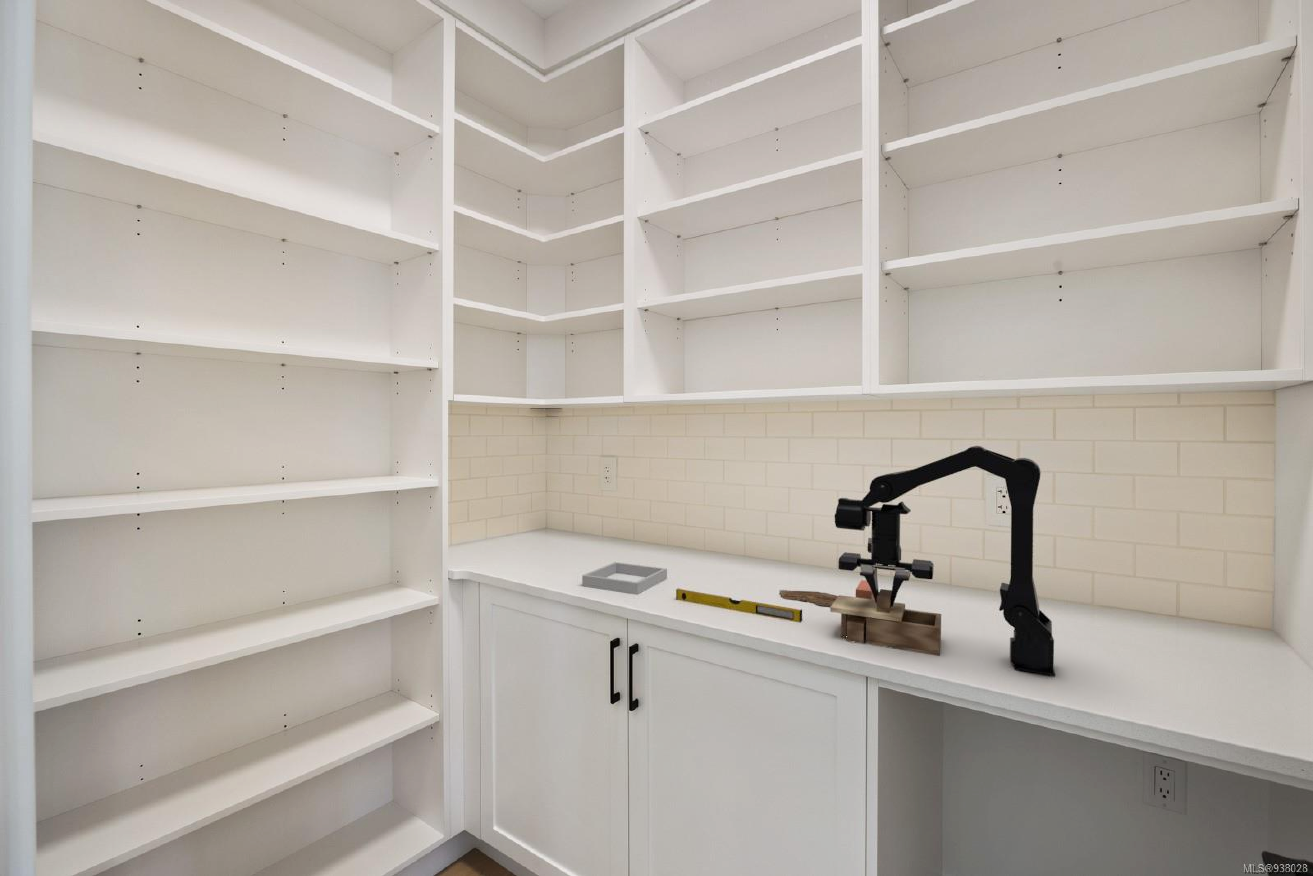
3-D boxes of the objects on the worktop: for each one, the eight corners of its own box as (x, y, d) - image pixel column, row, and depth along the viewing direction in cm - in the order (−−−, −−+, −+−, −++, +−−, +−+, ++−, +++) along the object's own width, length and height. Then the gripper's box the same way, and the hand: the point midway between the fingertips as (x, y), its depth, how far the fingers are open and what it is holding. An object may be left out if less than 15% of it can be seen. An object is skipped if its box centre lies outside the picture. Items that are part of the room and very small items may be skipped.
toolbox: (942, 624, 137) (942, 600, 137) (939, 656, 118) (939, 628, 118) (855, 611, 146) (855, 589, 145) (839, 639, 127) (840, 614, 127)
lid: (905, 608, 130) (905, 590, 130) (901, 621, 121) (901, 602, 121) (838, 599, 137) (838, 582, 137) (830, 611, 128) (830, 593, 128)
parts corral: (666, 578, 176) (666, 568, 176) (637, 594, 160) (637, 583, 160) (615, 571, 184) (615, 562, 184) (582, 585, 168) (582, 575, 168)
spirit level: (676, 600, 156) (676, 589, 156) (678, 599, 157) (678, 588, 157) (800, 623, 138) (800, 611, 138) (802, 622, 139) (802, 609, 139)
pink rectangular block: (876, 596, 144) (876, 582, 143) (871, 606, 136) (871, 591, 135) (861, 594, 145) (861, 580, 145) (855, 604, 137) (855, 589, 137)
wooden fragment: (769, 597, 159) (769, 593, 159) (787, 588, 167) (787, 584, 167) (866, 616, 143) (867, 612, 143) (880, 605, 152) (880, 601, 152)
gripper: (935, 530, 130) (933, 601, 130) (847, 523, 139) (846, 589, 139) (932, 539, 120) (931, 615, 121) (838, 531, 129) (837, 602, 129)
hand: (884, 604), depth 128 cm, fingers closed on lid, 2 cm apart
